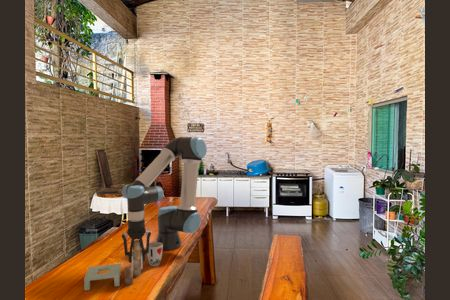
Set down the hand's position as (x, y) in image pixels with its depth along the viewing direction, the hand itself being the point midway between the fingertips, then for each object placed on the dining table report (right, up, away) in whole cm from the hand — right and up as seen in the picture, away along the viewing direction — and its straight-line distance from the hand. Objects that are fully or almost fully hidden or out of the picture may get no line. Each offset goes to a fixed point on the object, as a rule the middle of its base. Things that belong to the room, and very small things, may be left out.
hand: (137, 268), depth 144 cm
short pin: (-1, -4, -8) cm, 9 cm away
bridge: (-13, -3, -7) cm, 15 cm away
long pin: (0, -3, 0) cm, 3 cm away
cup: (+5, -3, +12) cm, 14 cm away
